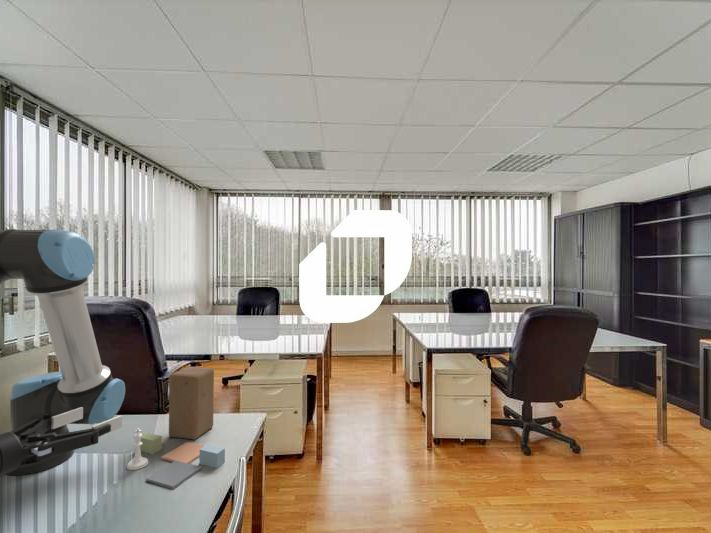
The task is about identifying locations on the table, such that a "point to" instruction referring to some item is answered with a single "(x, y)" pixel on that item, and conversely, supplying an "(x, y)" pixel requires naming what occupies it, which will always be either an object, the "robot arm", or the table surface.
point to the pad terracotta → (184, 453)
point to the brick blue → (212, 456)
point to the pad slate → (173, 474)
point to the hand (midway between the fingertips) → (101, 416)
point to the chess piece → (137, 454)
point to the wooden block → (191, 402)
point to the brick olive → (151, 443)
